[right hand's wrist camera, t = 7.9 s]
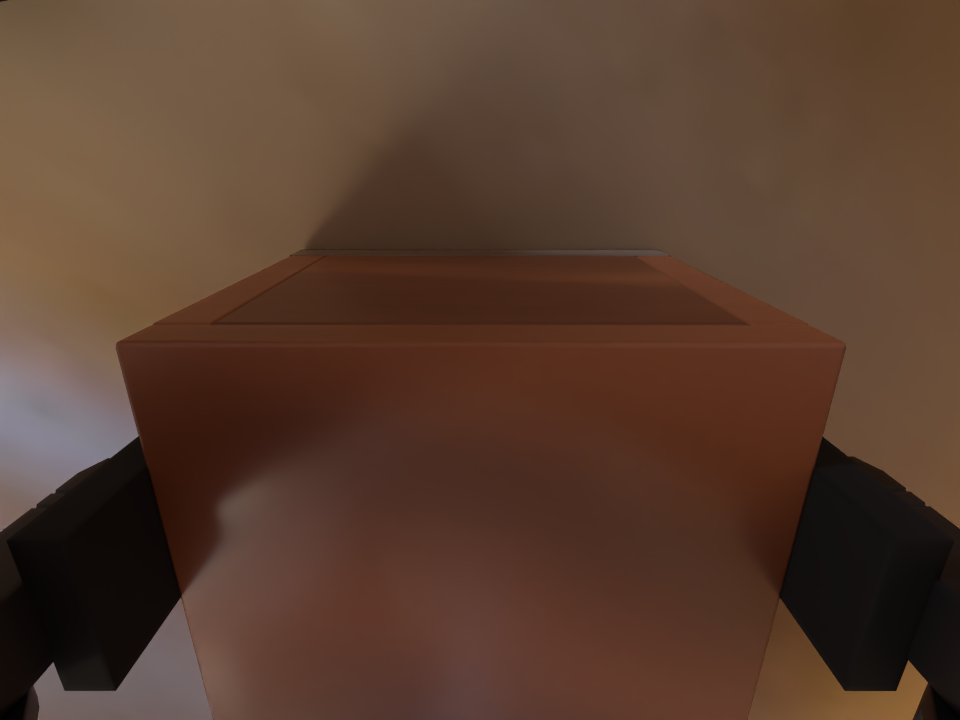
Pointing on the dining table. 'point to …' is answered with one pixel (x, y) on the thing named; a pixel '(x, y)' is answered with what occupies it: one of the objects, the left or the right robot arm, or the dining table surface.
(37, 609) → the right robot arm
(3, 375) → the dining table surface
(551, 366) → the cabinet
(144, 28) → the dining table surface
